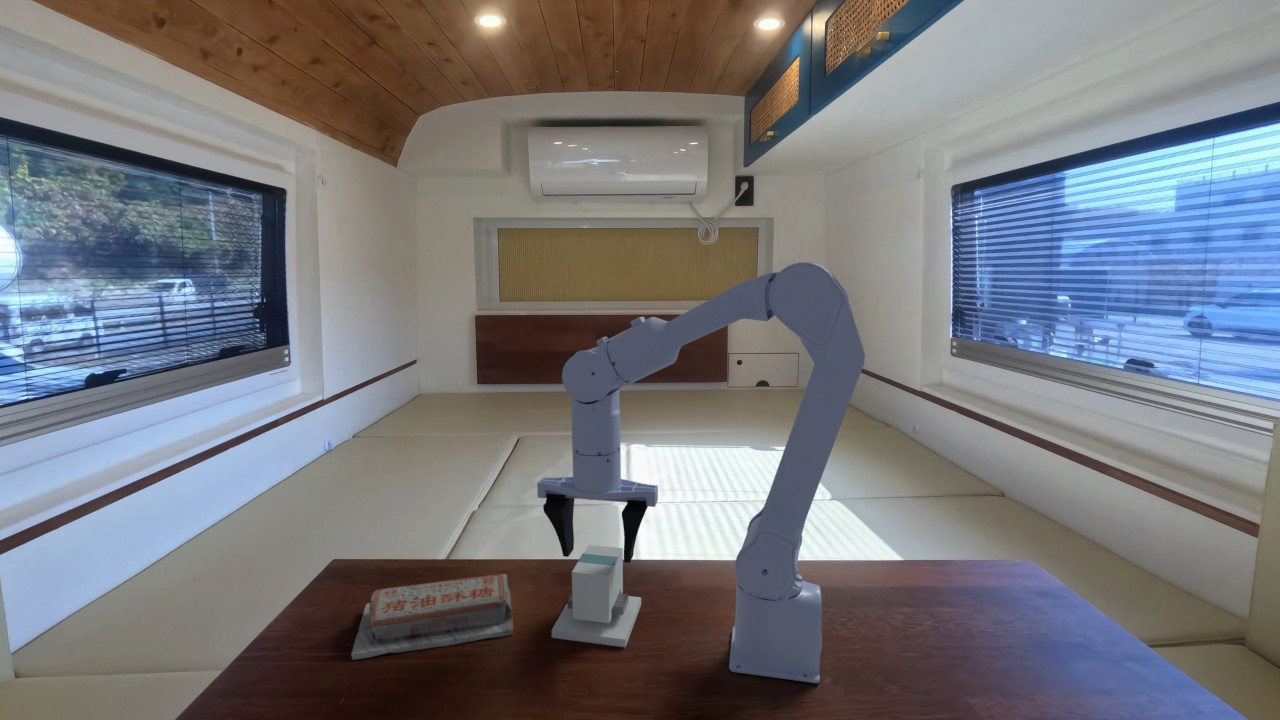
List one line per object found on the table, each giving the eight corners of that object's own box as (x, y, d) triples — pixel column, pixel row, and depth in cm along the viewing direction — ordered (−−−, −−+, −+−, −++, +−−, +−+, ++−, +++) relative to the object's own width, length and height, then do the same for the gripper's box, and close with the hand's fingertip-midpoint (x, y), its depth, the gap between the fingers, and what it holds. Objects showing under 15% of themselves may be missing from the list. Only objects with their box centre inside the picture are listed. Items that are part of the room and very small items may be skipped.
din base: (641, 604, 78) (641, 597, 77) (625, 647, 69) (625, 639, 69) (575, 596, 79) (575, 589, 79) (551, 637, 71) (551, 629, 70)
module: (623, 591, 77) (623, 547, 76) (609, 623, 70) (609, 575, 69) (588, 587, 78) (588, 544, 77) (572, 618, 71) (571, 571, 70)
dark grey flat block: (628, 601, 75) (628, 594, 74) (623, 615, 72) (622, 607, 71) (575, 595, 76) (575, 587, 76) (567, 608, 73) (567, 600, 73)
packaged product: (508, 561, 80) (512, 601, 70) (509, 595, 81) (514, 639, 71) (363, 579, 75) (347, 625, 66) (366, 614, 76) (350, 664, 67)
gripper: (662, 442, 73) (662, 546, 75) (550, 436, 76) (553, 536, 78) (651, 460, 66) (651, 574, 68) (529, 452, 69) (532, 562, 71)
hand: (598, 555), depth 73 cm, fingers open, 7 cm apart
